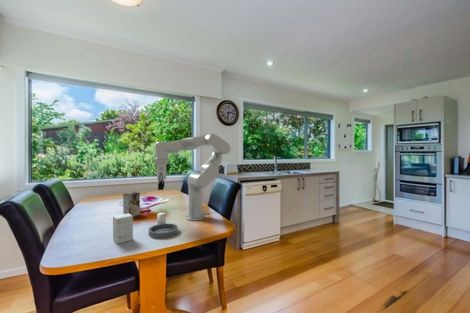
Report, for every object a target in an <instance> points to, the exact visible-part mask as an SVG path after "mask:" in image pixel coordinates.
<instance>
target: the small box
mask: <svg viewBox="0 0 470 313" xmlns="http://www.w3.org/2000/svg"><path fill="white" fill-rule="evenodd" d="M133 218H134V216H132V215H131V214H129V213H128V214H123V213H122V214H117V215H112V235H113V236H112V240H113V242H114V243H115V244H116V245H117V244H121V243H126V242H130V241H133V240H134V225H133V224H134V223H133V221H134V219H133Z"/></svg>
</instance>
